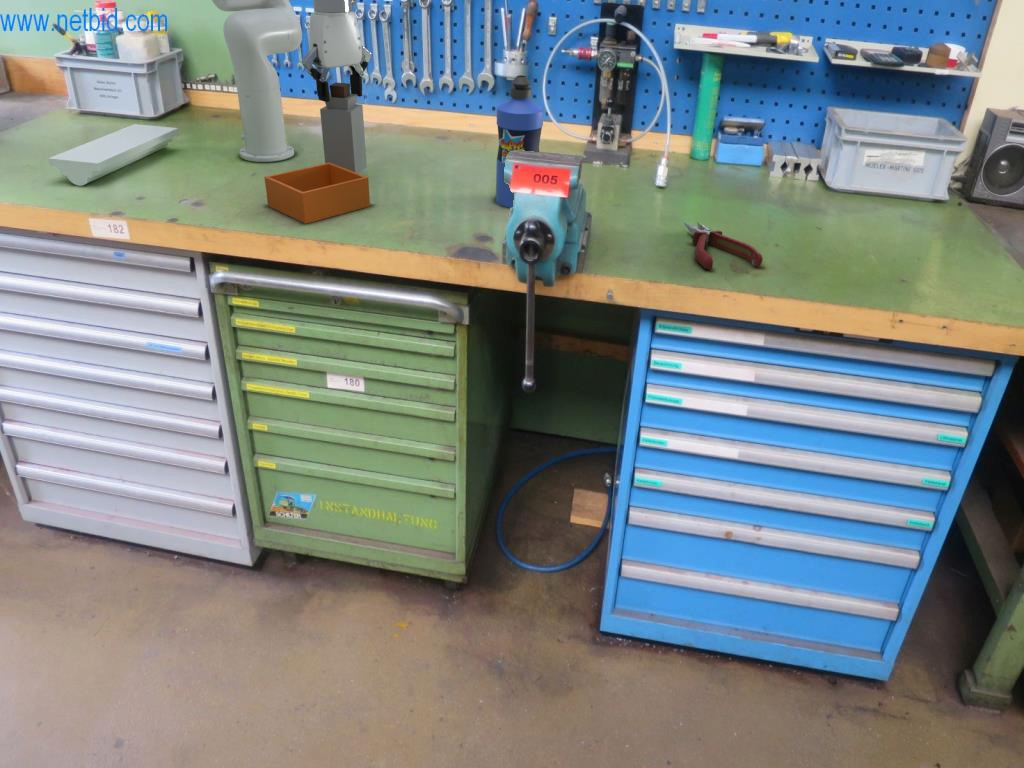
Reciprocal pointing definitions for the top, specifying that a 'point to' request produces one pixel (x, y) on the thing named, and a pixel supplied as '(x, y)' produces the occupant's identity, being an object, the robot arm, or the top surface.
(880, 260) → the top surface
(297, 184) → the box
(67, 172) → the shelf
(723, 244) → the pliers
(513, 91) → the water bottle
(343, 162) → the perfume bottle
